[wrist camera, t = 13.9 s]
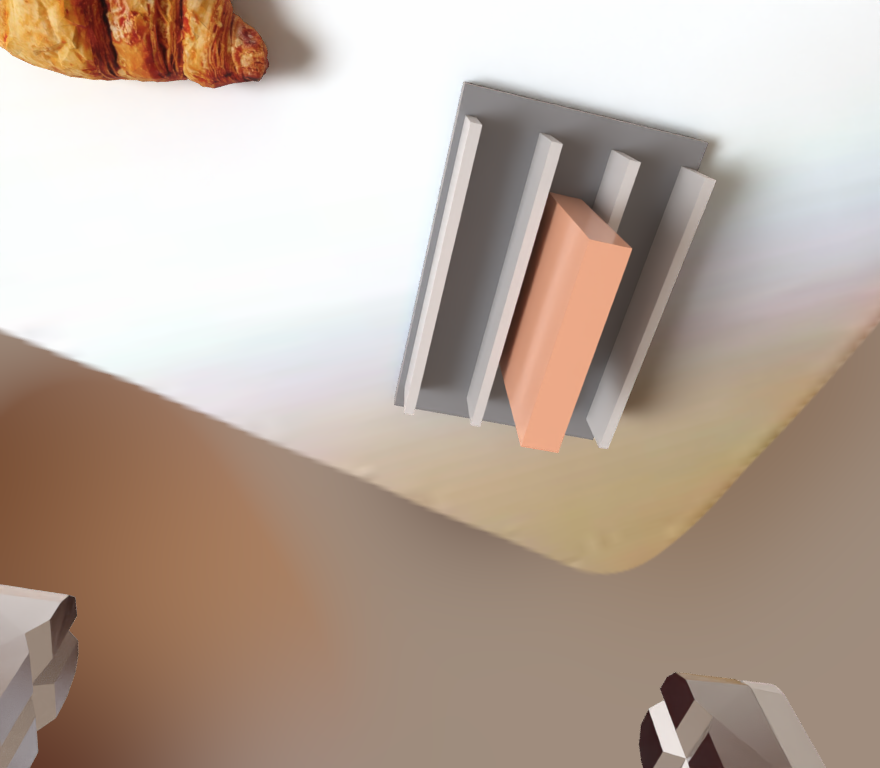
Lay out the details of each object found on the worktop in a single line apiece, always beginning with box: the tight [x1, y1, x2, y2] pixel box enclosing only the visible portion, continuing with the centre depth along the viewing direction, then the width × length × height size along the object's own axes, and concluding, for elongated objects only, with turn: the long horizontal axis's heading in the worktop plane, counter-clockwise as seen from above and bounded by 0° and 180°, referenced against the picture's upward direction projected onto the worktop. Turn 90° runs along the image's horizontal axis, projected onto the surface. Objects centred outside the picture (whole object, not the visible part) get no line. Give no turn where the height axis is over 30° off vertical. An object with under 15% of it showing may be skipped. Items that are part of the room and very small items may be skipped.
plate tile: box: [499, 192, 632, 453], centre depth 36 cm, size 11×2×10 cm, turn 167°
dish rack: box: [394, 82, 716, 449], centre depth 39 cm, size 20×14×5 cm
